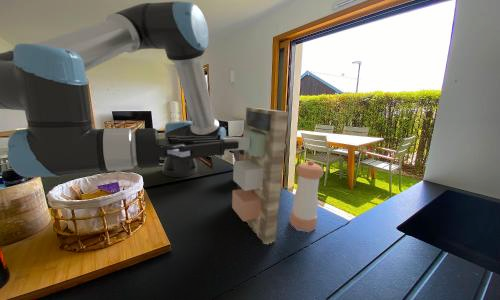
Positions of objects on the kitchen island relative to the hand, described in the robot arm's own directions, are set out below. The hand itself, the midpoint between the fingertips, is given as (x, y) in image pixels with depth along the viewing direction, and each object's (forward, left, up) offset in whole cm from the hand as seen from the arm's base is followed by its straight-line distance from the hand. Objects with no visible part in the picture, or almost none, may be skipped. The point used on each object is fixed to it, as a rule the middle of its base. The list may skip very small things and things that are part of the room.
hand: (248, 143), depth 48 cm
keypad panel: (0, +4, -24) cm, 24 cm away
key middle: (0, 0, -10) cm, 11 cm away
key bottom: (0, 0, -18) cm, 19 cm away
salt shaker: (+4, +17, -24) cm, 30 cm away
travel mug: (-13, +8, -24) cm, 29 cm away
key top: (0, +3, -2) cm, 4 cm away
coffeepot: (-31, +16, -24) cm, 42 cm away
